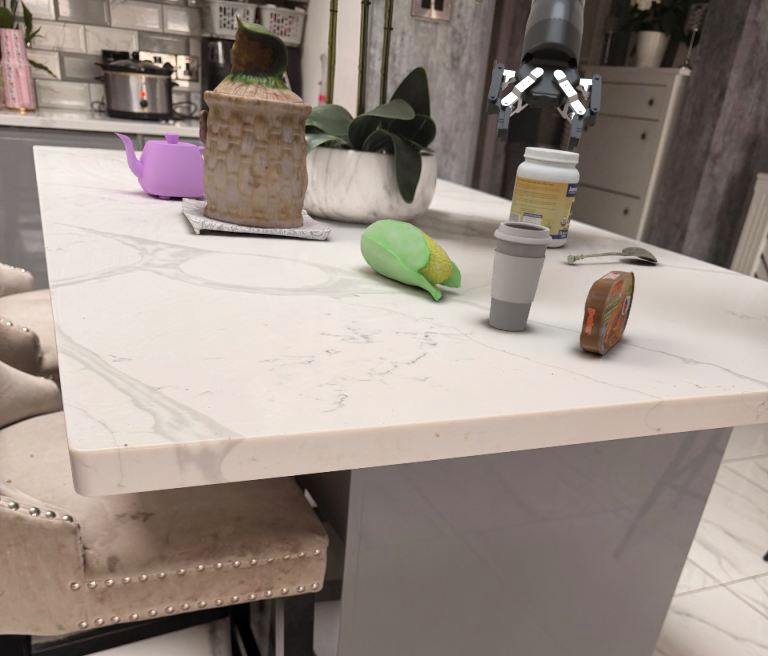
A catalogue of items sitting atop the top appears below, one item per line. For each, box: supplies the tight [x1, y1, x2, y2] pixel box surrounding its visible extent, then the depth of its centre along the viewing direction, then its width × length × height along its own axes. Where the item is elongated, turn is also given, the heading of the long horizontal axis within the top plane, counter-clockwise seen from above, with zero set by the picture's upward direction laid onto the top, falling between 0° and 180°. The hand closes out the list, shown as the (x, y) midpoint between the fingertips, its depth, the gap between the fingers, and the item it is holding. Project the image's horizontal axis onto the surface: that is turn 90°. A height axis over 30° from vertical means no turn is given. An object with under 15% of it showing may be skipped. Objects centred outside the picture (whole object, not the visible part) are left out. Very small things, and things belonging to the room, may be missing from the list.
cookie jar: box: [181, 13, 331, 241], centre depth 131 cm, size 25×25×32 cm
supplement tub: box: [507, 146, 580, 248], centre depth 150 cm, size 12×12×17 cm
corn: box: [360, 218, 462, 302], centre depth 110 cm, size 8×8×20 cm
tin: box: [579, 270, 636, 356], centre depth 91 cm, size 15×3×8 cm, turn 151°
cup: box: [488, 221, 552, 332], centre depth 93 cm, size 7×7×12 cm
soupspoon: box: [566, 246, 658, 265], centre depth 142 cm, size 22×3×7 cm
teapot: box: [114, 132, 206, 200], centre depth 155 cm, size 20×13×12 cm, turn 120°
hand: (537, 141), depth 96 cm, fingers open, 8 cm apart
